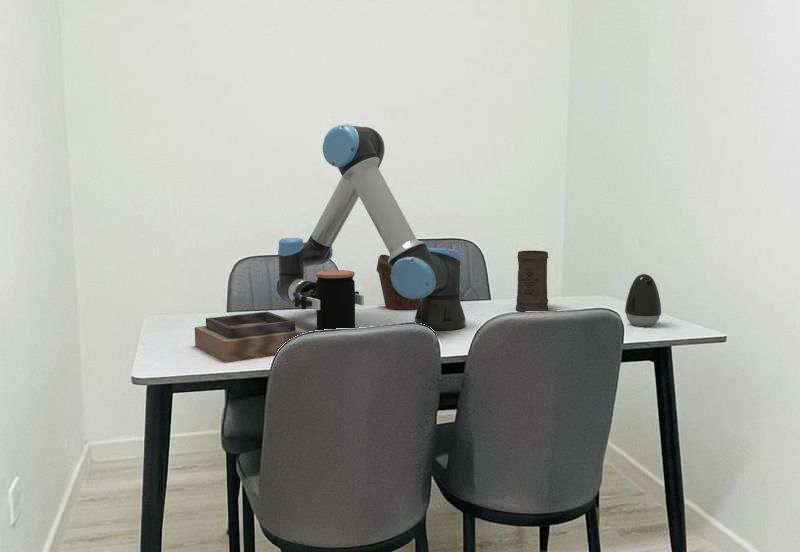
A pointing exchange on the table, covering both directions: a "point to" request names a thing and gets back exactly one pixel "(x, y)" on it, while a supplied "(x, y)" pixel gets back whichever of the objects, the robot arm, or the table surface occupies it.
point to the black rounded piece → (643, 302)
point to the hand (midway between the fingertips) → (341, 302)
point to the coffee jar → (335, 299)
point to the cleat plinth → (245, 335)
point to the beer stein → (532, 281)
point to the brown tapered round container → (392, 288)
